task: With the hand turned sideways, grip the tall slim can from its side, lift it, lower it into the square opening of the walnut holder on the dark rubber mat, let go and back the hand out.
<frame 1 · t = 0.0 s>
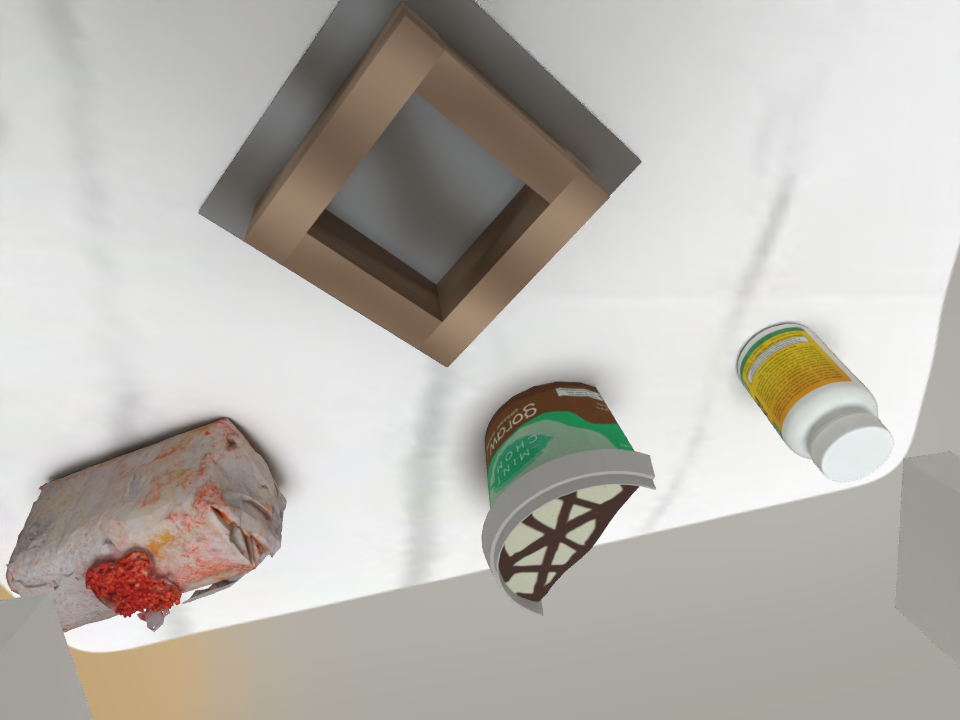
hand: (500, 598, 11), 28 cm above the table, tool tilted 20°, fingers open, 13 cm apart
food item: (172, 473, 45), on the table
food container: (517, 422, 46), on the table
holder: (423, 184, 36), on the table
supplement bottle: (773, 353, 45), on the table
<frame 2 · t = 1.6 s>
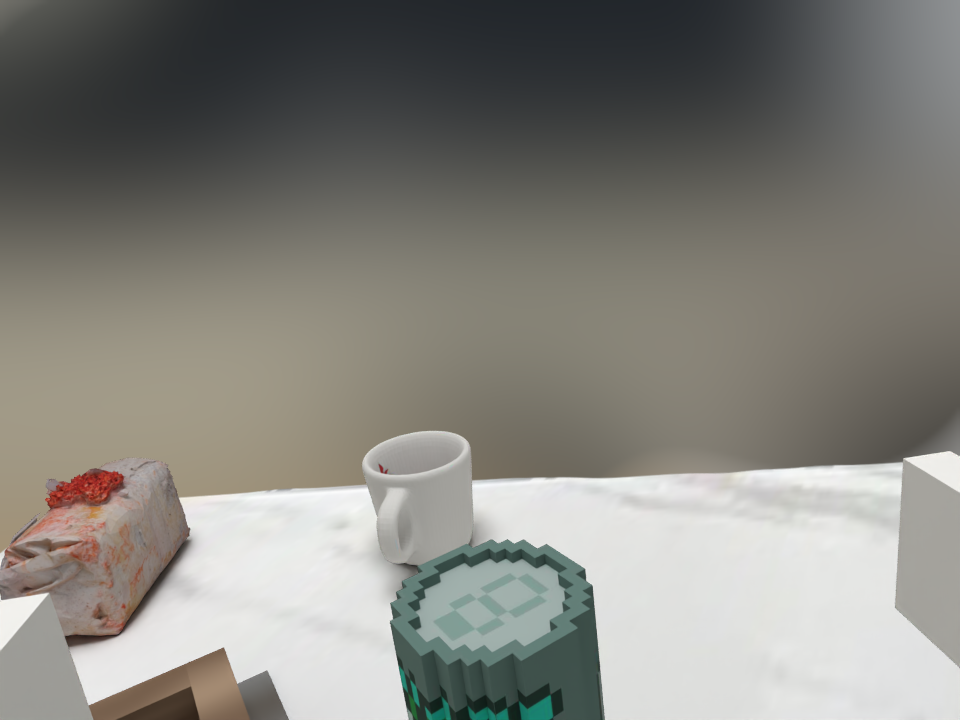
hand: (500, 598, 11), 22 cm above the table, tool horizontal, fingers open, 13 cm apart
food item: (118, 594, 53), on the table
cup: (425, 560, 52), on the table
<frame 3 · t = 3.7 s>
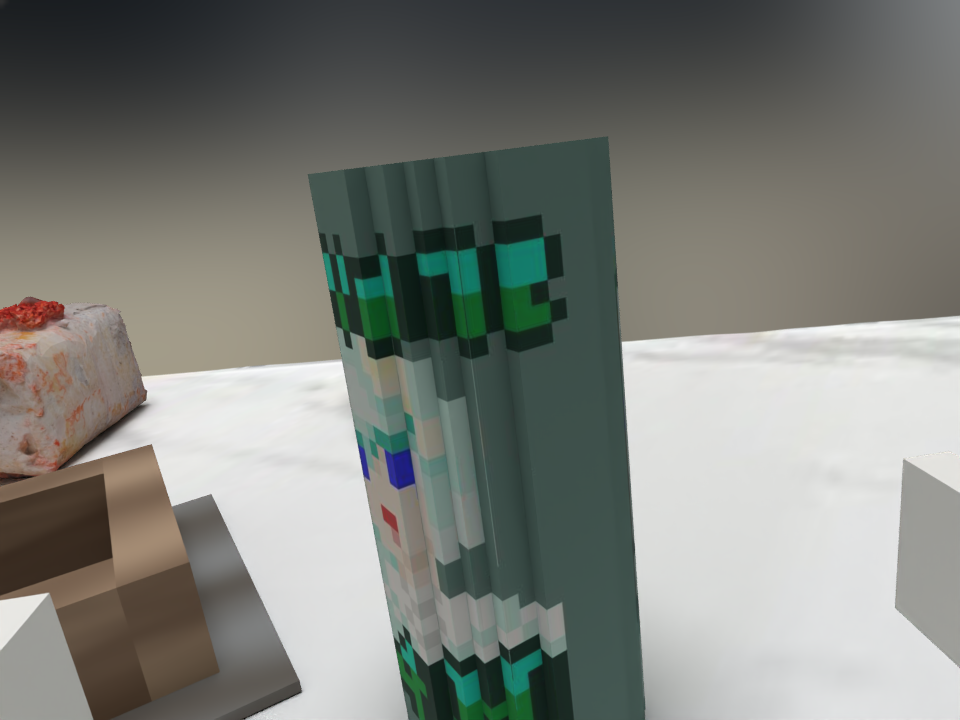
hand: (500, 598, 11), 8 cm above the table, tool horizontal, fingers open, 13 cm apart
food item: (59, 448, 46), on the table
holder: (16, 659, 24), on the table
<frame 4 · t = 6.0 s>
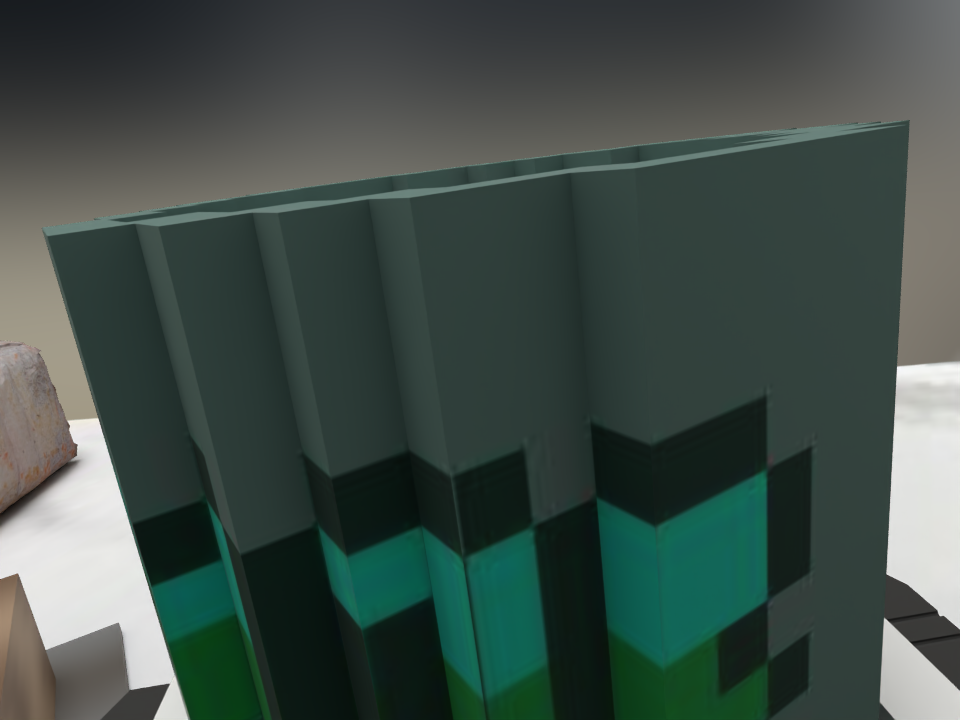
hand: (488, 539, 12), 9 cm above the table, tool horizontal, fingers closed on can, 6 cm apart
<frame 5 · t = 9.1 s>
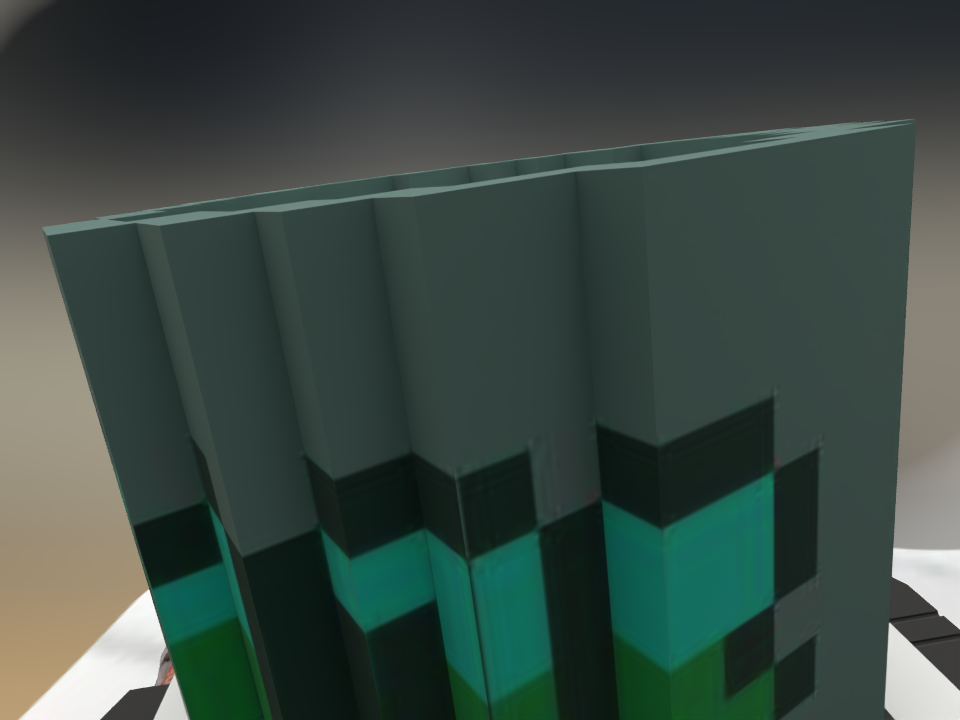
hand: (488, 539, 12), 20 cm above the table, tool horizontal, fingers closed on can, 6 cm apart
when the fingers open (10 cm above the table, at t = 12.0 s): can drops 1 cm, resting on holder.
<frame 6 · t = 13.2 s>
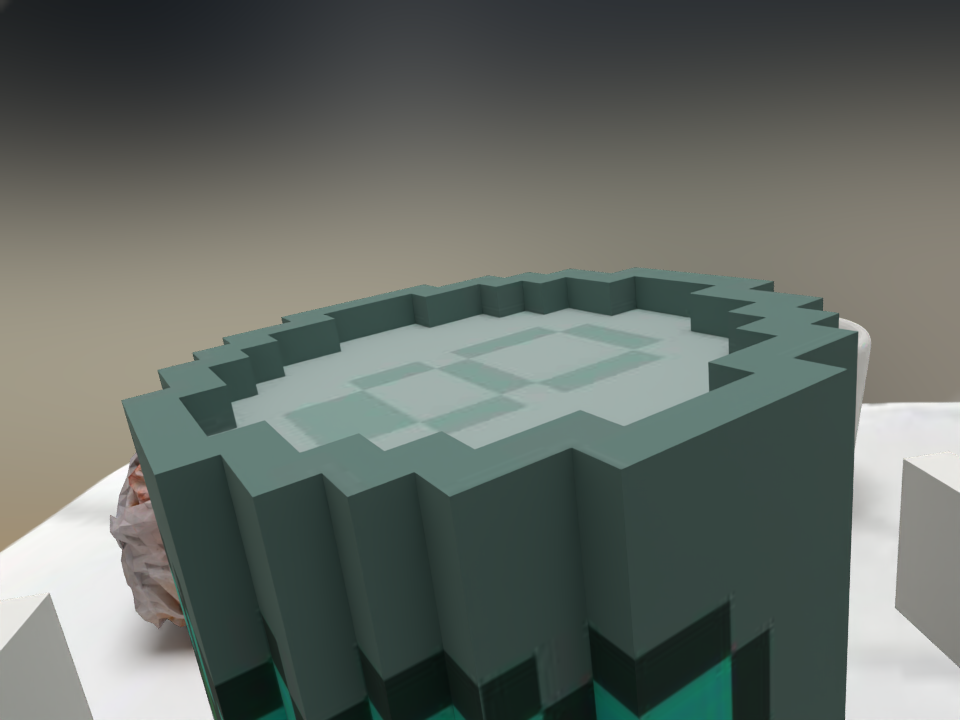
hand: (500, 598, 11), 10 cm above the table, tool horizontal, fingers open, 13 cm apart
food item: (278, 562, 33), on the table
cup: (771, 513, 32), on the table
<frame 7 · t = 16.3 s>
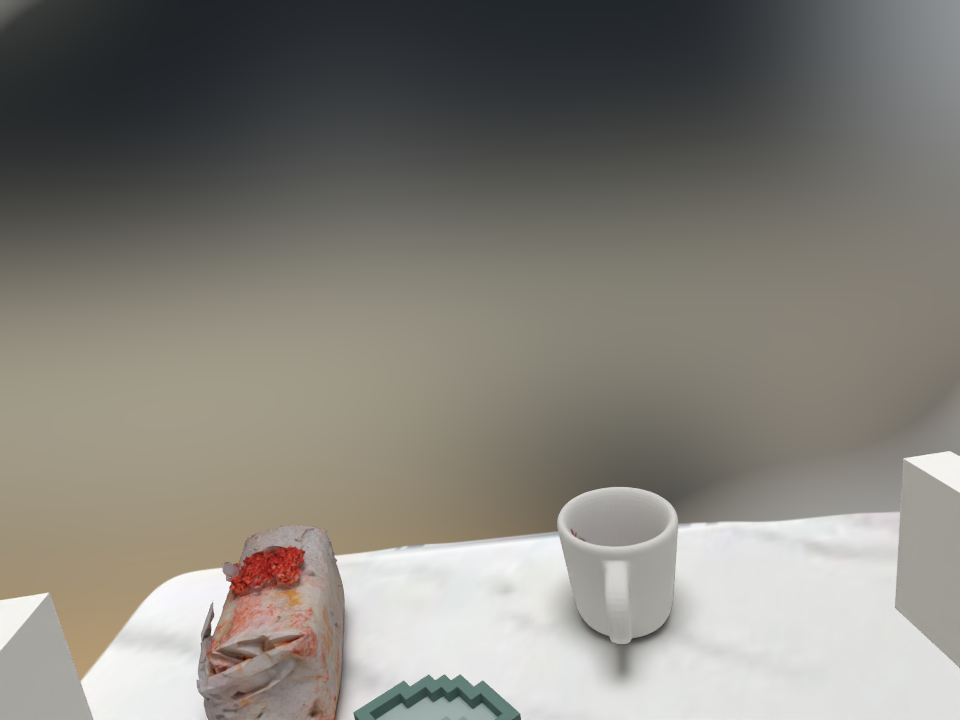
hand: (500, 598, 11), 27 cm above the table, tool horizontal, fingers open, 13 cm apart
food item: (295, 680, 48), on the table
cup: (624, 629, 48), on the table
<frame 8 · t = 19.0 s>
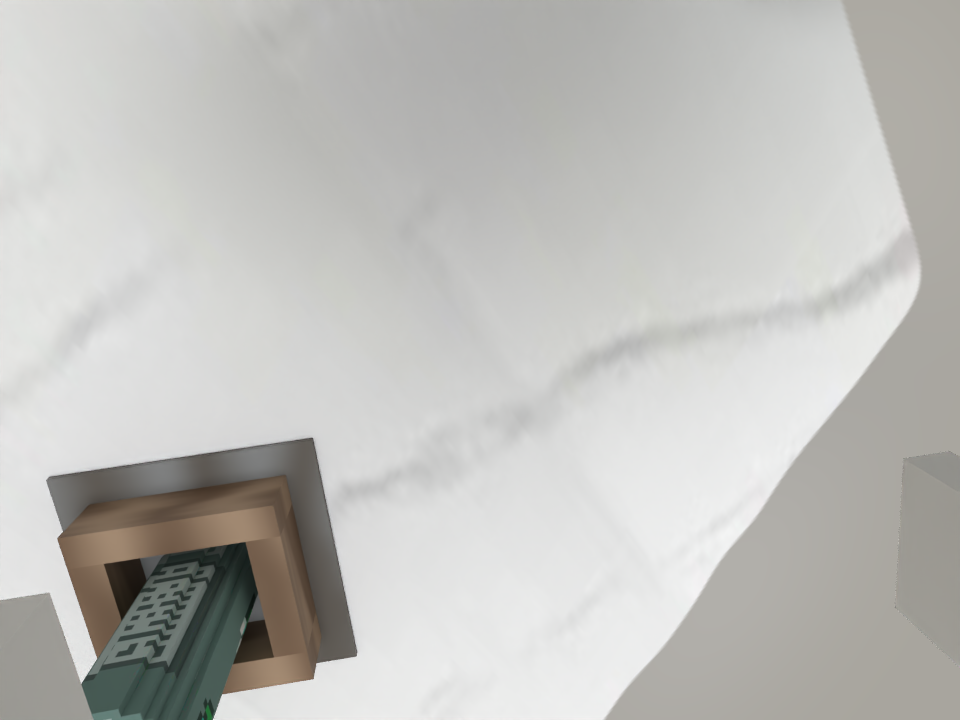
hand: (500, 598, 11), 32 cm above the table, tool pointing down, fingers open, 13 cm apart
can: (212, 572, 45), resting on holder
holder: (212, 570, 45), on the table
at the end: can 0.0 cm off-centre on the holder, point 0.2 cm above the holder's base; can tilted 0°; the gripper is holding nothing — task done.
